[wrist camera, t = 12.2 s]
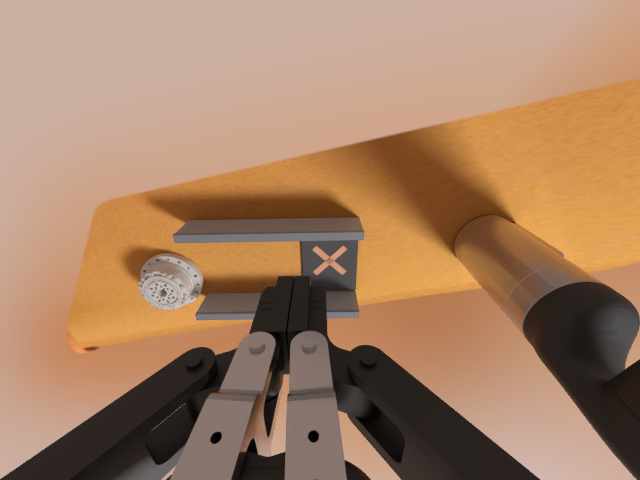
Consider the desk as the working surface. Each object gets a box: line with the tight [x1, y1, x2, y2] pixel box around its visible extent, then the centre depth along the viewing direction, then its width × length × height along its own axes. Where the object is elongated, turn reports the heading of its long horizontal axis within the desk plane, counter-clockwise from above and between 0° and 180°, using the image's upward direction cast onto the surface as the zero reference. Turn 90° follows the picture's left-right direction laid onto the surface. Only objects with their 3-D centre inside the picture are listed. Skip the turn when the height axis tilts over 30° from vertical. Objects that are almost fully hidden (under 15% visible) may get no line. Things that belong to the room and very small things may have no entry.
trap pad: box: [301, 240, 358, 290], centre depth 46 cm, size 9×12×1 cm
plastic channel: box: [173, 217, 364, 320], centre depth 44 cm, size 26×15×6 cm, turn 91°
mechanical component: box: [138, 253, 204, 310], centre depth 46 cm, size 10×4×10 cm
